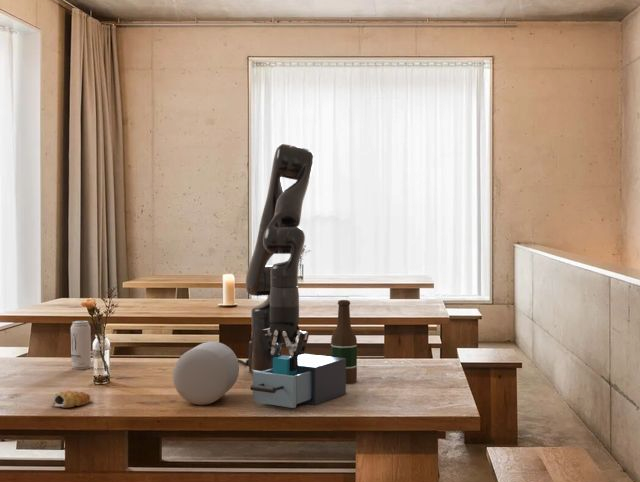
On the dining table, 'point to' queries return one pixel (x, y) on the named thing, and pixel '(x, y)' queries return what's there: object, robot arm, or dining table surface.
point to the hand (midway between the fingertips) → (284, 369)
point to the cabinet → (324, 376)
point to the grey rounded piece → (205, 373)
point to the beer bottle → (345, 341)
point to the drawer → (282, 388)
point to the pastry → (70, 399)
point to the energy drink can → (80, 345)
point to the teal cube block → (282, 365)
